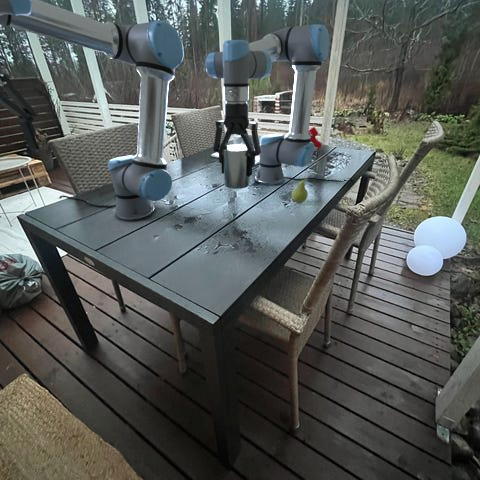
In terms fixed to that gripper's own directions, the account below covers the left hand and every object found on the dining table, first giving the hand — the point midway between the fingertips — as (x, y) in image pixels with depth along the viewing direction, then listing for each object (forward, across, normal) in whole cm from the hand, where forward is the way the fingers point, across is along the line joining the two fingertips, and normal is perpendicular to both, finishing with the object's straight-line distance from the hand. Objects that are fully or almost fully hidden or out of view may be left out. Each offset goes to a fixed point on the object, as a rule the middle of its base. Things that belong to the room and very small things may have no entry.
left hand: (7, 155), depth 65 cm
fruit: (+34, +74, -58) cm, 100 cm away
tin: (+18, +46, -40) cm, 64 cm away
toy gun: (+34, +168, -44) cm, 177 cm away
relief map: (+34, +133, -8) cm, 138 cm away
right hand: (+14, +46, -40) cm, 63 cm away
